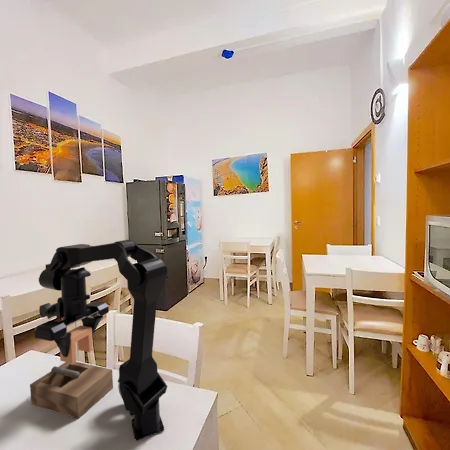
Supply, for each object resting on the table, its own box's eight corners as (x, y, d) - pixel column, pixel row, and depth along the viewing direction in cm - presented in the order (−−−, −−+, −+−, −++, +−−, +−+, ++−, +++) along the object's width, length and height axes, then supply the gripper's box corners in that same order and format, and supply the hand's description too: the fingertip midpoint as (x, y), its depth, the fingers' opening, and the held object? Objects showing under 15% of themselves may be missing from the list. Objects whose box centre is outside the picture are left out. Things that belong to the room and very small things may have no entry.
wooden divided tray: (113, 388, 81) (111, 364, 80) (78, 418, 69) (76, 391, 69) (69, 377, 86) (68, 355, 85) (31, 404, 75) (29, 378, 74)
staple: (81, 347, 80) (80, 325, 79) (92, 350, 79) (91, 327, 78) (60, 360, 73) (59, 336, 73) (72, 363, 72) (71, 338, 72)
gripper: (79, 280, 86) (81, 330, 87) (16, 301, 68) (20, 363, 70) (108, 283, 82) (111, 335, 84) (50, 306, 65) (54, 371, 66)
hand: (76, 349), depth 76 cm, fingers closed on staple, 7 cm apart
